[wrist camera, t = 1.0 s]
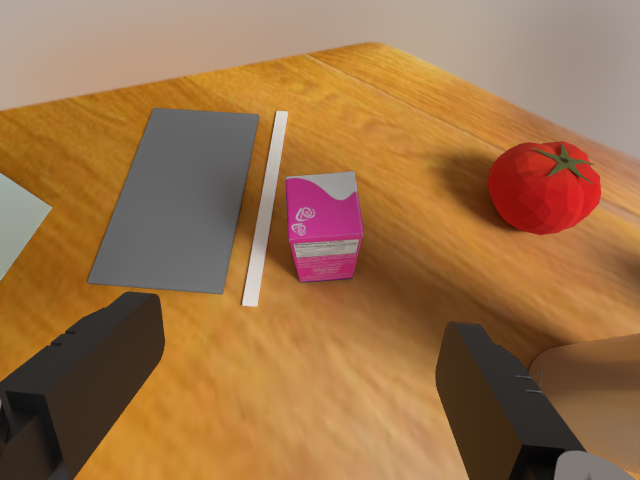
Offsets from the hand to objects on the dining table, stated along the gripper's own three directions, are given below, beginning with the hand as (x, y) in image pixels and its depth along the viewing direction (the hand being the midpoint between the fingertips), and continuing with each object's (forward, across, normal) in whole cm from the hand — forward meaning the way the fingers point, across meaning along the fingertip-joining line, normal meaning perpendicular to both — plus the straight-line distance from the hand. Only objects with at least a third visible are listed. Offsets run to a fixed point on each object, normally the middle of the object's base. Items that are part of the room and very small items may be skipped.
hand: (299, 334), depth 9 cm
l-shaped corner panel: (+25, +38, +10) cm, 47 cm away
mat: (+30, +17, +4) cm, 34 cm away
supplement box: (+25, 0, +8) cm, 26 cm away
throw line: (+30, +7, +4) cm, 31 cm away
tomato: (+31, -22, +2) cm, 38 cm away
